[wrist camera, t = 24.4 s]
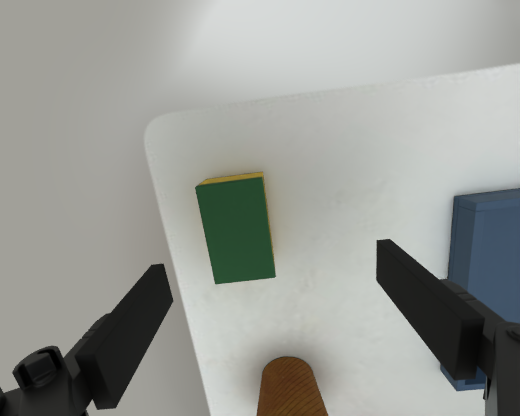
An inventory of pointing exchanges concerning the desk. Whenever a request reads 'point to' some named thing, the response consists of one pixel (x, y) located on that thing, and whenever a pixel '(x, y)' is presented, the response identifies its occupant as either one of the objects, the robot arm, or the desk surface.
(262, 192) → the sponge
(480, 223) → the tray
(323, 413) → the disposable coffee cup
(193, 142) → the desk surface
